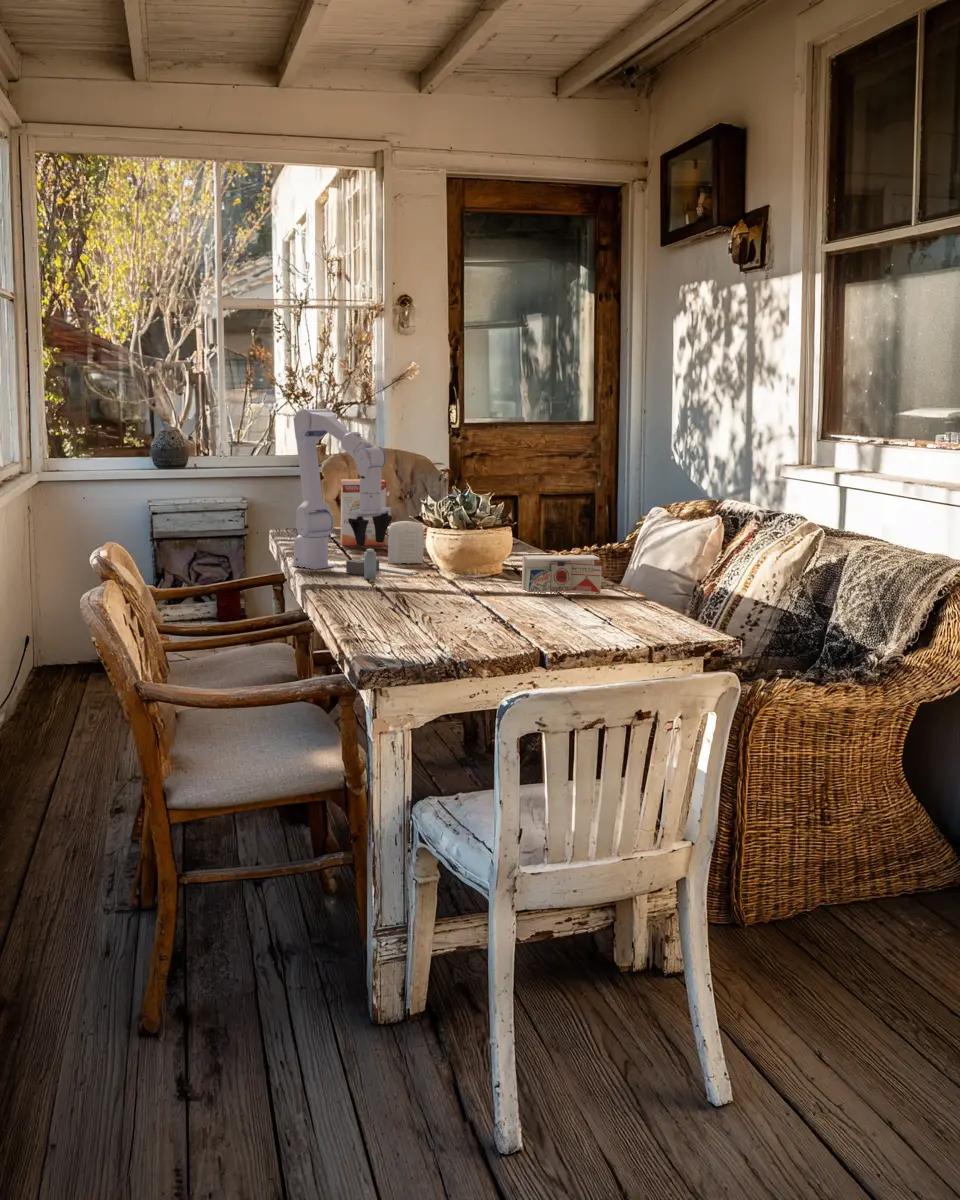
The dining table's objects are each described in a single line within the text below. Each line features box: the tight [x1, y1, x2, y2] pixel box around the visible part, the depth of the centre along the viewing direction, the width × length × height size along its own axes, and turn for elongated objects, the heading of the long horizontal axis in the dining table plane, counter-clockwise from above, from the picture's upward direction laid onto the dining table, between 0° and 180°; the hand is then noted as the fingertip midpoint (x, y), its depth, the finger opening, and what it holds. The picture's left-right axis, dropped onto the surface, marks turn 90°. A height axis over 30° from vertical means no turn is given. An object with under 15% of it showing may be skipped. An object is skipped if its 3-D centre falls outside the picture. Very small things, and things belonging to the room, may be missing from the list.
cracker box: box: [340, 478, 387, 547], centre depth 374 cm, size 14×6×21 cm, turn 102°
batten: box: [379, 564, 420, 575], centre depth 327 cm, size 16×4×1 cm, turn 53°
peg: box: [363, 548, 377, 580], centre depth 315 cm, size 3×3×8 cm
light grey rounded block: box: [387, 520, 425, 565], centre depth 340 cm, size 10×4×12 cm, turn 98°
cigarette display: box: [521, 554, 602, 594], centre depth 300 cm, size 20×6×9 cm, turn 102°
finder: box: [345, 557, 380, 575], centre depth 325 cm, size 5×8×4 cm, turn 143°
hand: (370, 543), depth 313 cm, fingers open, 7 cm apart
